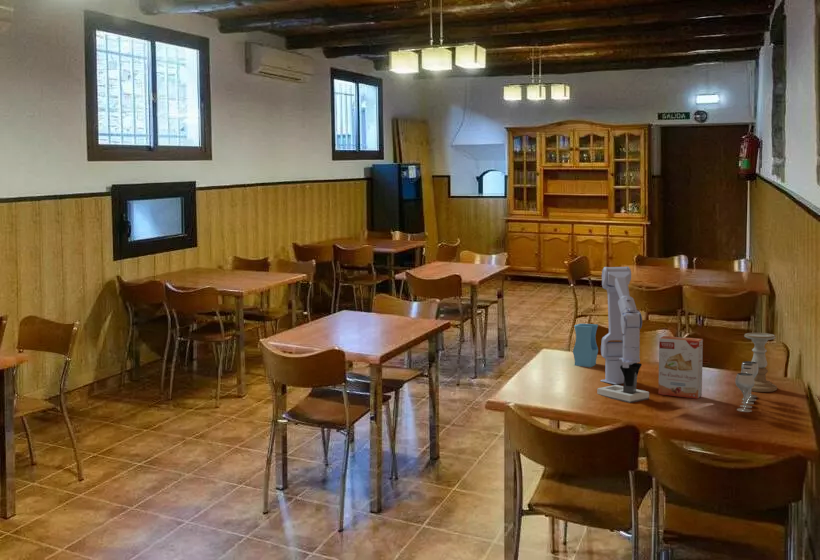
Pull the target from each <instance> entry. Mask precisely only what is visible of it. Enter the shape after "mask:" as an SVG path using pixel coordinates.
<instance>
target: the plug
mask: <svg viewBox="0 0 820 560" xmlns="http://www.w3.org/2000/svg"><path fill="white" fill-rule="evenodd" d="M637 380H638V375H637V374H636V372H635V375H634V381H633V386H626V383H625V379H624V383H623V385H622V386H623V392H624V393H630V394H634V393H635V392H636V389H637V385H638V384H637V383H638V382H637Z"/></svg>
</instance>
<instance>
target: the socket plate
mask: <svg viewBox="0 0 820 560" xmlns="http://www.w3.org/2000/svg"><path fill="white" fill-rule="evenodd" d="M623 386H624V385H621V384H616V385H615V384H612V385H608V386H603V387H598V388H597V389H596V390H597V391H596V392H597V393H596V394H597V395H600V396H602V397H605V398H607V399H611V400H615V401H618V402H619V401H621V402H624V403H628V404H631V403H636V402H642V401H645V400H649V399H650V392H649V391H646V390H643V389H637V388H636V392H635V393H634V394H630V393H624V392H623Z"/></svg>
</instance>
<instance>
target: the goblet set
mask: <svg viewBox="0 0 820 560" xmlns="http://www.w3.org/2000/svg"><path fill="white" fill-rule="evenodd" d="M757 374H758V363H757V362H752V360H751V361H748V360H747V361H746V360H745V361H742V363H741V371H740V372H739V373H737V374H736V377H735V380H734V381H735V386H736V387H737V388H738V389H739V391H740V392H741V393H742V395H743V396H742V397H743V398H741V399H742V401H741V404H740V405H739V407H740V408H736V411H738V412H741V413H750V412H751V413H752V412H753V410H752V408H753V405H754V402H756V401H757V399H756V398H758V395H755V394H752V391H751V388H752V387H753V386H754V378H755V377H756V375H757Z"/></svg>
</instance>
